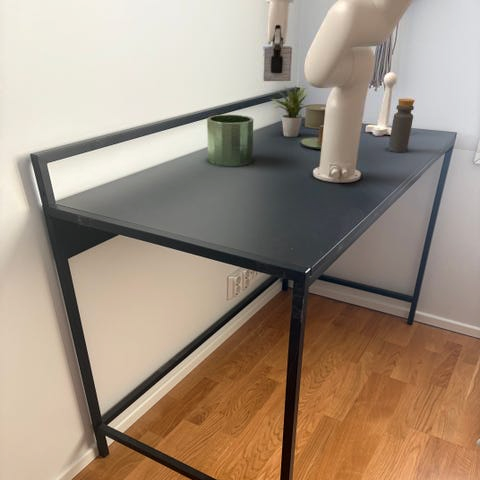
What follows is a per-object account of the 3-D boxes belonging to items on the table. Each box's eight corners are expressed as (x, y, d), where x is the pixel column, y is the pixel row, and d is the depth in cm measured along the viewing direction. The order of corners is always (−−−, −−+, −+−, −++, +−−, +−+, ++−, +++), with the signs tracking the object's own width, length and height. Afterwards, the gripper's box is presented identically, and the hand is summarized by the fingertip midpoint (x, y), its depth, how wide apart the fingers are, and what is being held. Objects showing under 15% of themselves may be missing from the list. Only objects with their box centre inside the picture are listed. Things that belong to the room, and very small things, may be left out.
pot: (259, 158, 145) (261, 117, 139) (237, 168, 136) (238, 125, 130) (223, 152, 151) (223, 113, 145) (199, 162, 142) (198, 119, 135)
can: (322, 122, 194) (324, 103, 190) (342, 127, 185) (344, 108, 181) (297, 124, 189) (299, 105, 185) (316, 130, 180) (318, 110, 176)
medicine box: (289, 79, 143) (290, 46, 139) (290, 81, 140) (292, 46, 135) (262, 79, 143) (263, 46, 139) (263, 81, 139) (264, 46, 135)
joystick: (398, 134, 176) (409, 73, 166) (390, 138, 171) (402, 74, 160) (369, 130, 182) (378, 70, 171) (361, 134, 176) (370, 72, 166)
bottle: (404, 148, 159) (414, 98, 151) (408, 152, 154) (418, 101, 146) (386, 147, 160) (395, 97, 152) (389, 152, 155) (398, 100, 147)
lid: (349, 144, 162) (351, 124, 159) (333, 153, 152) (336, 132, 149) (311, 139, 168) (312, 120, 165) (293, 147, 158) (295, 127, 155)
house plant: (284, 128, 182) (287, 80, 174) (317, 133, 176) (322, 83, 167) (264, 135, 172) (266, 84, 164) (298, 140, 166) (302, 88, 157)
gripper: (266, -3, 138) (264, 69, 148) (264, -6, 124) (262, 74, 133) (293, -3, 138) (289, 69, 147) (293, -6, 123) (289, 75, 133)
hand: (276, 71), depth 140 cm, fingers closed on medicine box, 4 cm apart
